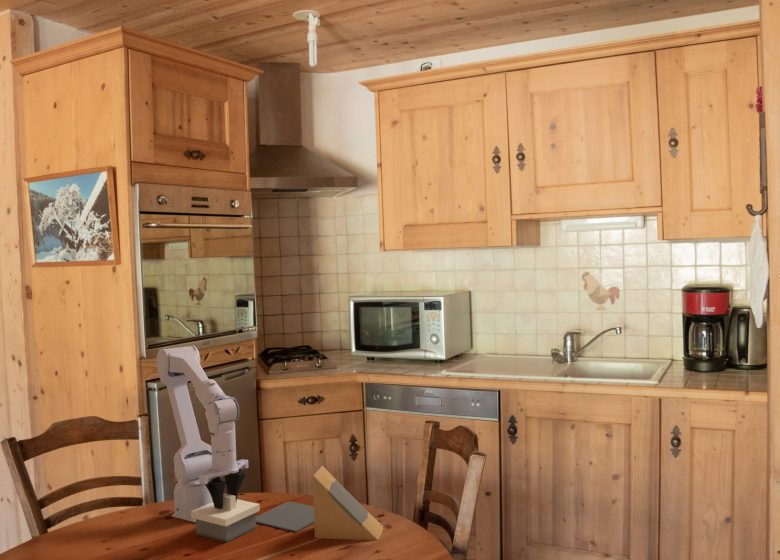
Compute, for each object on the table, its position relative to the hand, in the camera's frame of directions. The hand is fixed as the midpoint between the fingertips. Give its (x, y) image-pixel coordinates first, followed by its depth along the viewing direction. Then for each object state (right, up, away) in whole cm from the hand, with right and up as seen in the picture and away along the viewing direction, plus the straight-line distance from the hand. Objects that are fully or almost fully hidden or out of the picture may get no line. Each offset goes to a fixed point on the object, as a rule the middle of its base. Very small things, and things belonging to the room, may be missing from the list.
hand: (225, 505), depth 170 cm
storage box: (0, -6, 0) cm, 6 cm away
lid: (0, -2, 0) cm, 2 cm away
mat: (+15, -6, +9) cm, 18 cm away
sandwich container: (+30, -6, -2) cm, 31 cm away
